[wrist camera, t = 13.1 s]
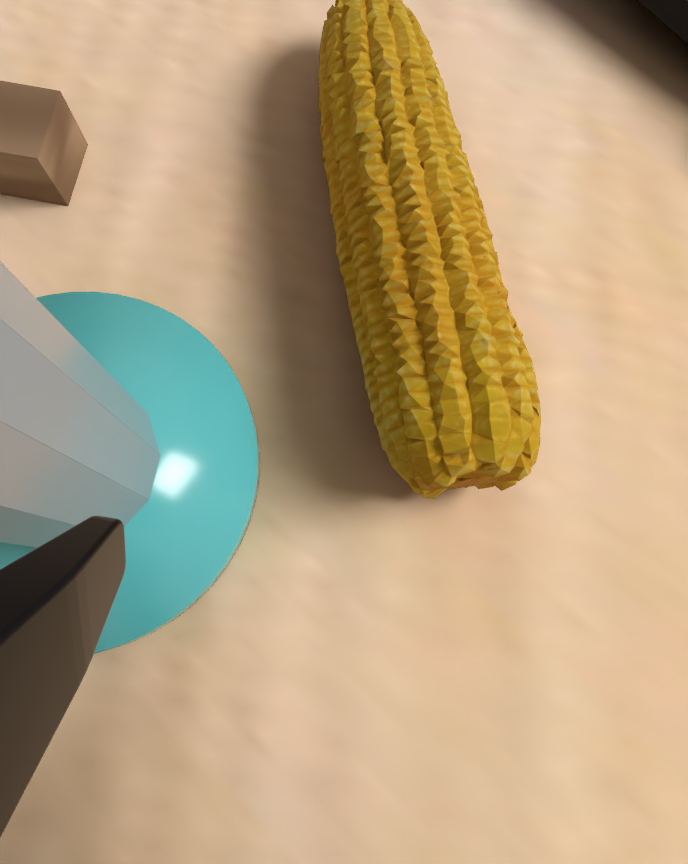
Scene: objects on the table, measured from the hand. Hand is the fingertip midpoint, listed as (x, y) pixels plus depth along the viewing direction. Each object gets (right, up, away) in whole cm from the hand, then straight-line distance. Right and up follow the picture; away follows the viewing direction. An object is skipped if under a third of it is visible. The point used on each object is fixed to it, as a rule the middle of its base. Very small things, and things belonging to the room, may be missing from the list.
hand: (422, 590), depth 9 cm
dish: (-11, +1, +14) cm, 18 cm away
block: (-14, +13, +17) cm, 26 cm away
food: (+1, +9, +17) cm, 19 cm away
